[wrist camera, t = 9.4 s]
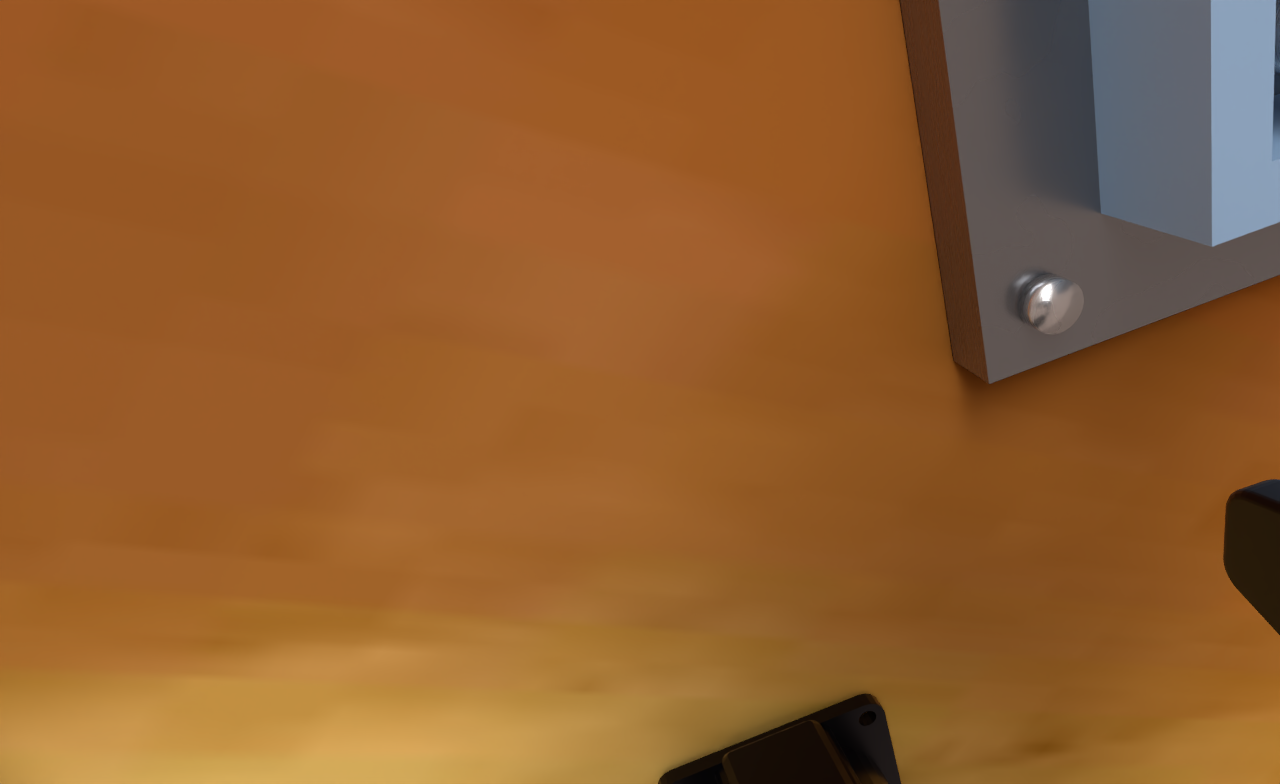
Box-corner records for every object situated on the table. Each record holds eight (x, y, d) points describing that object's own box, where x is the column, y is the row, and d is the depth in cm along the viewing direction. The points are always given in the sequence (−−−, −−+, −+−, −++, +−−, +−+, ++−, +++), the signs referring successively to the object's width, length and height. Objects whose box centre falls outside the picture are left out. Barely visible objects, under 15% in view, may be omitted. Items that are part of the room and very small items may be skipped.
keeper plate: (1393, 196, 22) (1637, 242, 18) (953, 360, 22) (1092, 453, 17) (1443, -402, 17) (1800, -547, 13) (867, -219, 16) (1034, -306, 12)
